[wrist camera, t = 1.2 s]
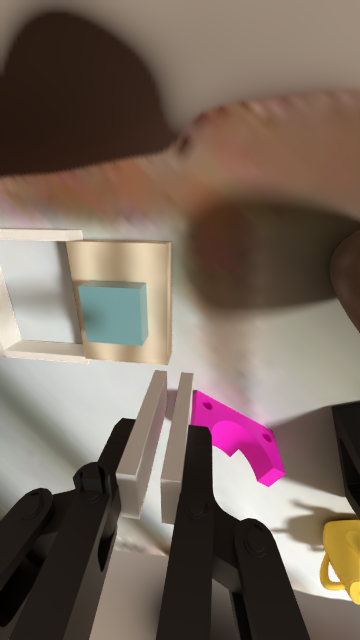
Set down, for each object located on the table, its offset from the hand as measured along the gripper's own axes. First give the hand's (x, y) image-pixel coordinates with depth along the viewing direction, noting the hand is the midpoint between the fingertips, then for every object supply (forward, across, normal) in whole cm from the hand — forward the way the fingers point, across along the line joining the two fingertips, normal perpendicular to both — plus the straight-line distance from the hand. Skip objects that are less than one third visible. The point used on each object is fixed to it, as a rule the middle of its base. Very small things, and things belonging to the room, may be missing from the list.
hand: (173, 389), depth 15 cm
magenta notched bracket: (+19, +6, -21) cm, 29 cm away
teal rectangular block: (+14, -9, 0) cm, 17 cm away
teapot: (+19, +33, -46) cm, 60 cm away
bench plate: (+18, -9, 0) cm, 21 cm away
